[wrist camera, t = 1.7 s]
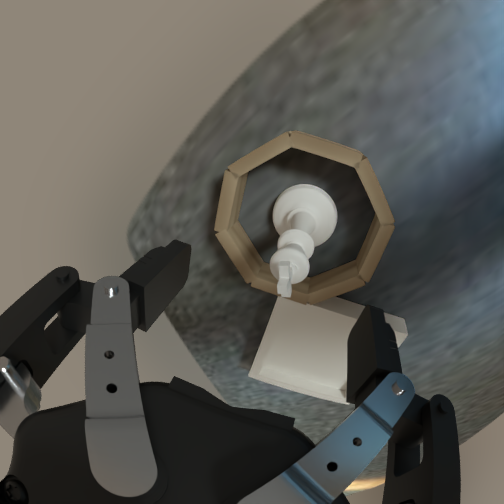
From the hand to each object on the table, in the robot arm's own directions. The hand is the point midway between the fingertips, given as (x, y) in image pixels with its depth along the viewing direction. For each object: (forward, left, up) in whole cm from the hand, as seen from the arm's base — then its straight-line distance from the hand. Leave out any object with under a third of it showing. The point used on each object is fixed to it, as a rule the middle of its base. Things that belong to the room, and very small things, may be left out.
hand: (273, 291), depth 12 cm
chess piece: (0, 0, -11) cm, 11 cm away
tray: (-6, +12, -10) cm, 17 cm away
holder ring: (0, 0, -10) cm, 10 cm away
